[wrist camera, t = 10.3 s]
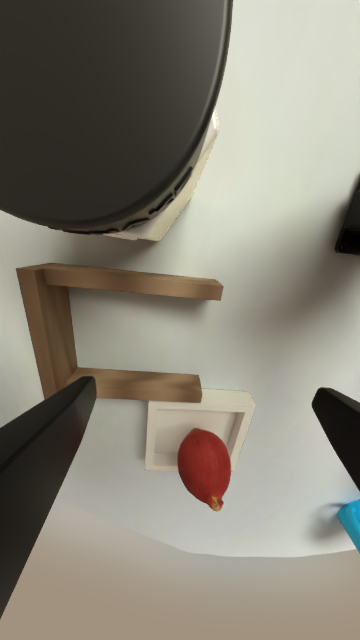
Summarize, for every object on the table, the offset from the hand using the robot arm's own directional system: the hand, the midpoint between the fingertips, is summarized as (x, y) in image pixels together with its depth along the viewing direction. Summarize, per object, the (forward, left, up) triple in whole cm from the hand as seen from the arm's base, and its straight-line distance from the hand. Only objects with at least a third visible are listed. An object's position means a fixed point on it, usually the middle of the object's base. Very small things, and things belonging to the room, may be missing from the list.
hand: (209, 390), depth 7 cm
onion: (-3, +17, -11) cm, 20 cm away
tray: (-3, +17, -12) cm, 21 cm away
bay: (+5, +4, -12) cm, 13 cm away
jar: (+5, -9, -12) cm, 16 cm away
